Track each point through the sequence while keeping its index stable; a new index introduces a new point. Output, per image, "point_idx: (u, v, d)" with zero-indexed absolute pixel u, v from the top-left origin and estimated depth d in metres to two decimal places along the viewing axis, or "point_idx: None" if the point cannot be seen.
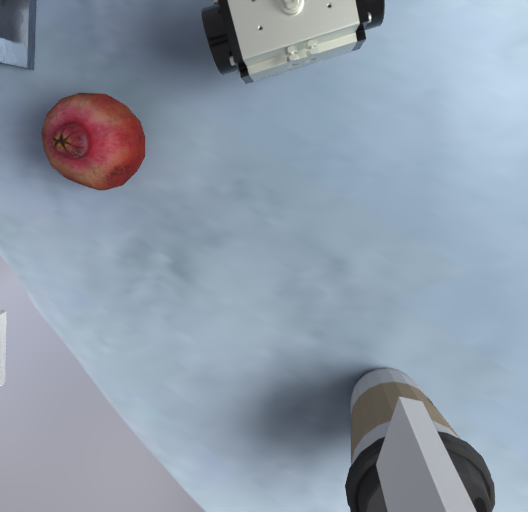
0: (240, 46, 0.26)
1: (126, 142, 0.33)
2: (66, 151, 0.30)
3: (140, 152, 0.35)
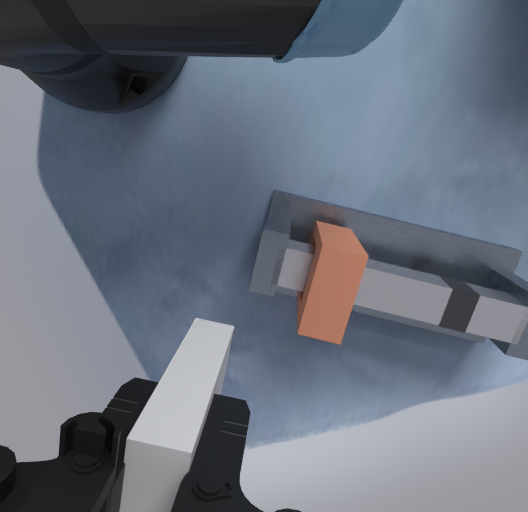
0: None
1: None
2: None
3: None
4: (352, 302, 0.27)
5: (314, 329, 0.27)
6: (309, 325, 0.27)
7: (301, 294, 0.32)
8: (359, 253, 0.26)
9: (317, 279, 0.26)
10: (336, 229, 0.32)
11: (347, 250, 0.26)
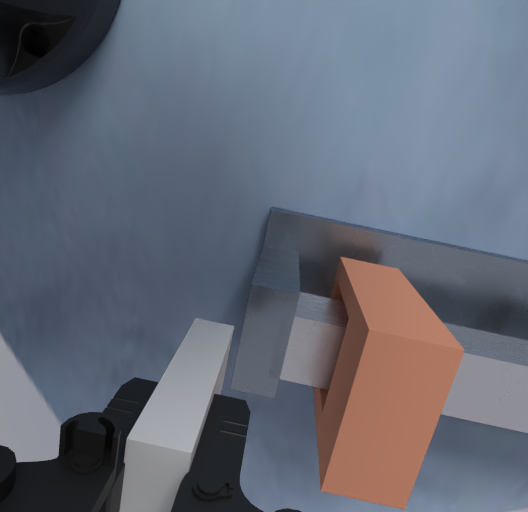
0: None
1: None
2: None
3: None
4: (429, 435, 0.13)
5: (353, 483, 0.14)
6: (343, 476, 0.14)
7: None
8: (444, 343, 0.13)
9: (358, 394, 0.13)
10: (377, 274, 0.19)
11: (419, 338, 0.13)
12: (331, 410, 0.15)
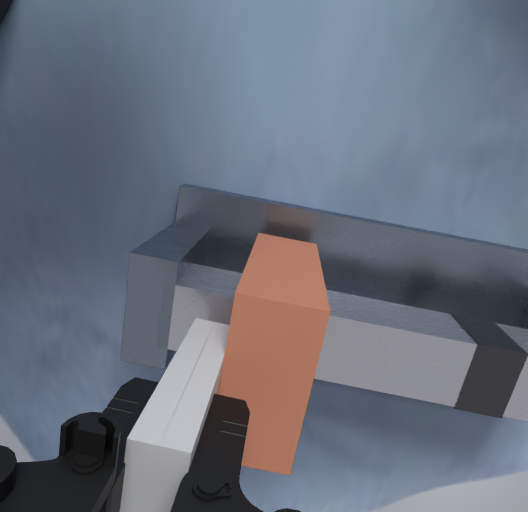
0: None
1: None
2: None
3: None
4: (305, 399, 0.13)
5: None
6: None
7: None
8: (312, 305, 0.13)
9: (232, 359, 0.13)
10: (287, 247, 0.19)
11: (287, 300, 0.13)
12: None
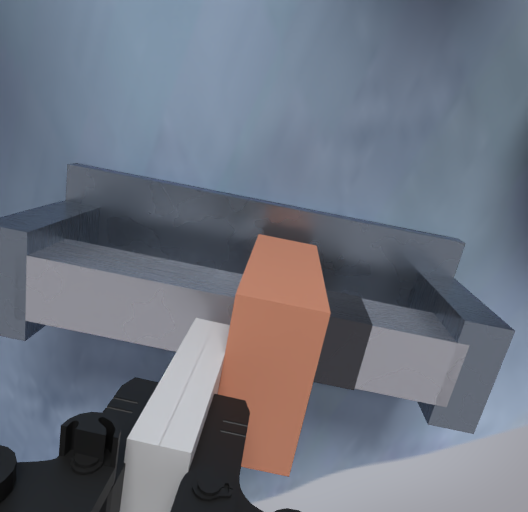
0: None
1: None
2: None
3: None
4: (305, 401, 0.13)
5: None
6: None
7: None
8: (312, 307, 0.13)
9: (232, 360, 0.13)
10: (288, 249, 0.19)
11: (287, 302, 0.13)
12: None
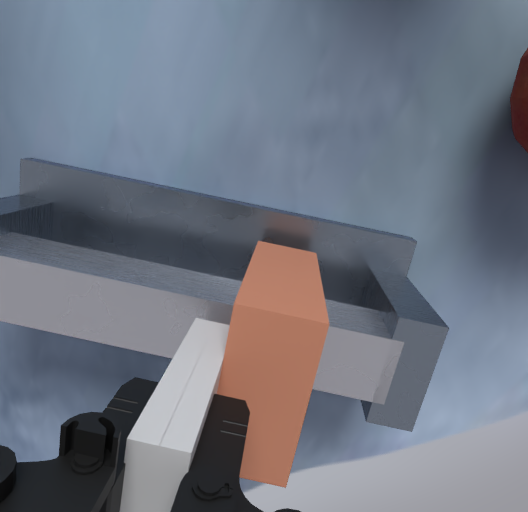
0: None
1: None
2: None
3: None
4: (302, 412, 0.13)
5: None
6: None
7: None
8: (310, 317, 0.13)
9: (229, 370, 0.13)
10: (287, 256, 0.19)
11: (286, 312, 0.13)
12: None
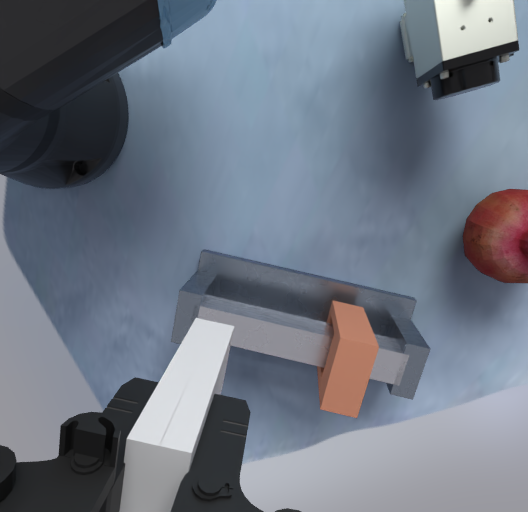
0: (504, 42, 0.26)
1: None
2: None
3: None
4: (366, 383, 0.32)
5: (334, 405, 0.32)
6: (330, 402, 0.32)
7: (321, 367, 0.37)
8: (371, 344, 0.31)
9: (336, 365, 0.32)
10: (350, 310, 0.37)
11: (361, 341, 0.31)
12: (325, 375, 0.34)
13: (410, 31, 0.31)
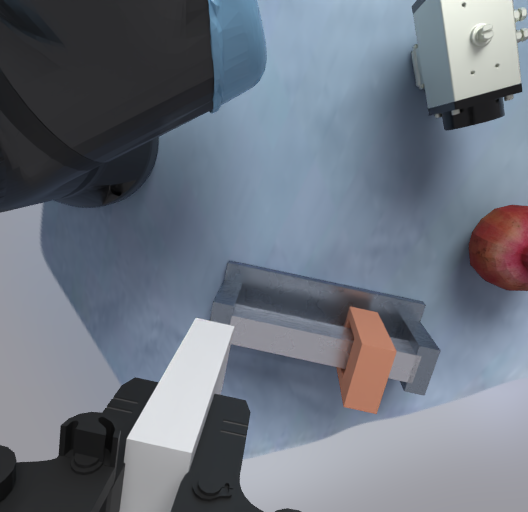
0: (509, 85, 0.29)
1: None
2: None
3: None
4: (385, 383, 0.36)
5: (356, 403, 0.36)
6: (352, 400, 0.36)
7: None
8: (389, 349, 0.35)
9: (358, 368, 0.35)
10: (367, 316, 0.41)
11: (380, 347, 0.35)
12: (347, 376, 0.38)
13: (422, 66, 0.34)
